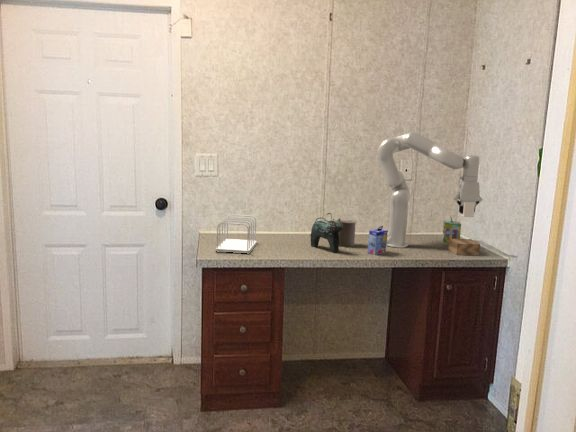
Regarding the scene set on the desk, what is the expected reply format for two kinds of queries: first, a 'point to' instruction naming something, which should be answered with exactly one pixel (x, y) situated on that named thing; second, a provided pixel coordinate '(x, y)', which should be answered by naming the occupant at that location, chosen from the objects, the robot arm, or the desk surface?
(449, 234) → the chalk box
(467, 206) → the white rectangular block
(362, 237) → the desk surface
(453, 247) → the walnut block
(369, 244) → the ink cartridge box
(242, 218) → the file sorter
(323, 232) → the animal figurine
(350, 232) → the pillar candle
